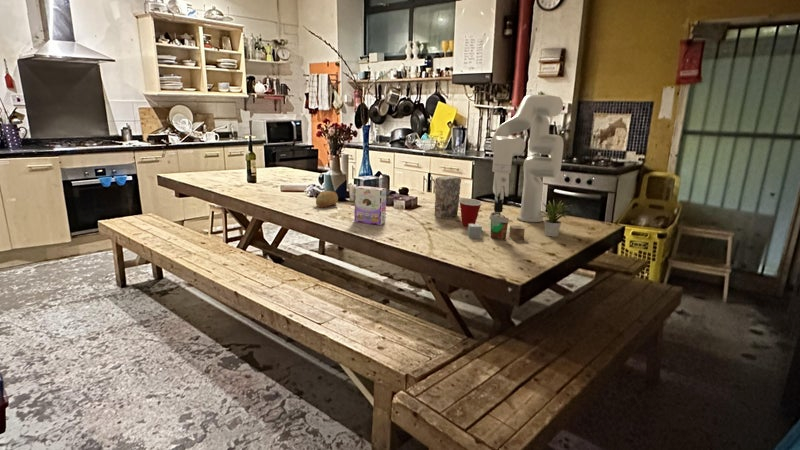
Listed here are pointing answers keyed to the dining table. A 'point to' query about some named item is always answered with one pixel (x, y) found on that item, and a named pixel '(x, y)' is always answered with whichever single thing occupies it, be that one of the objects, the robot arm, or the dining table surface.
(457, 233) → the dining table surface
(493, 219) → the food container
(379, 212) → the candy box
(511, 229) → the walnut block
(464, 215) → the plastic cup
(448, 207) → the stone block
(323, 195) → the bread roll
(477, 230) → the slate-grey block
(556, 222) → the house plant
